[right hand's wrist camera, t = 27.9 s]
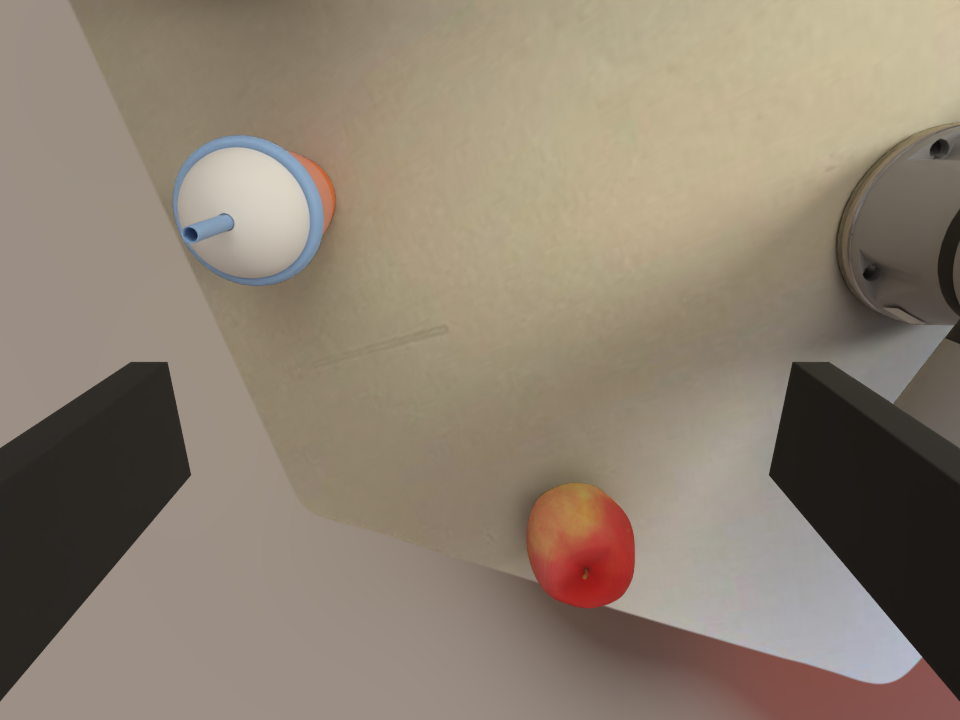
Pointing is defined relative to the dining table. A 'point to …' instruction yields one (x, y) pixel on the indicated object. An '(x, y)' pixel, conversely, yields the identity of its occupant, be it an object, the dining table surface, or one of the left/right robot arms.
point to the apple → (580, 545)
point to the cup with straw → (252, 209)
